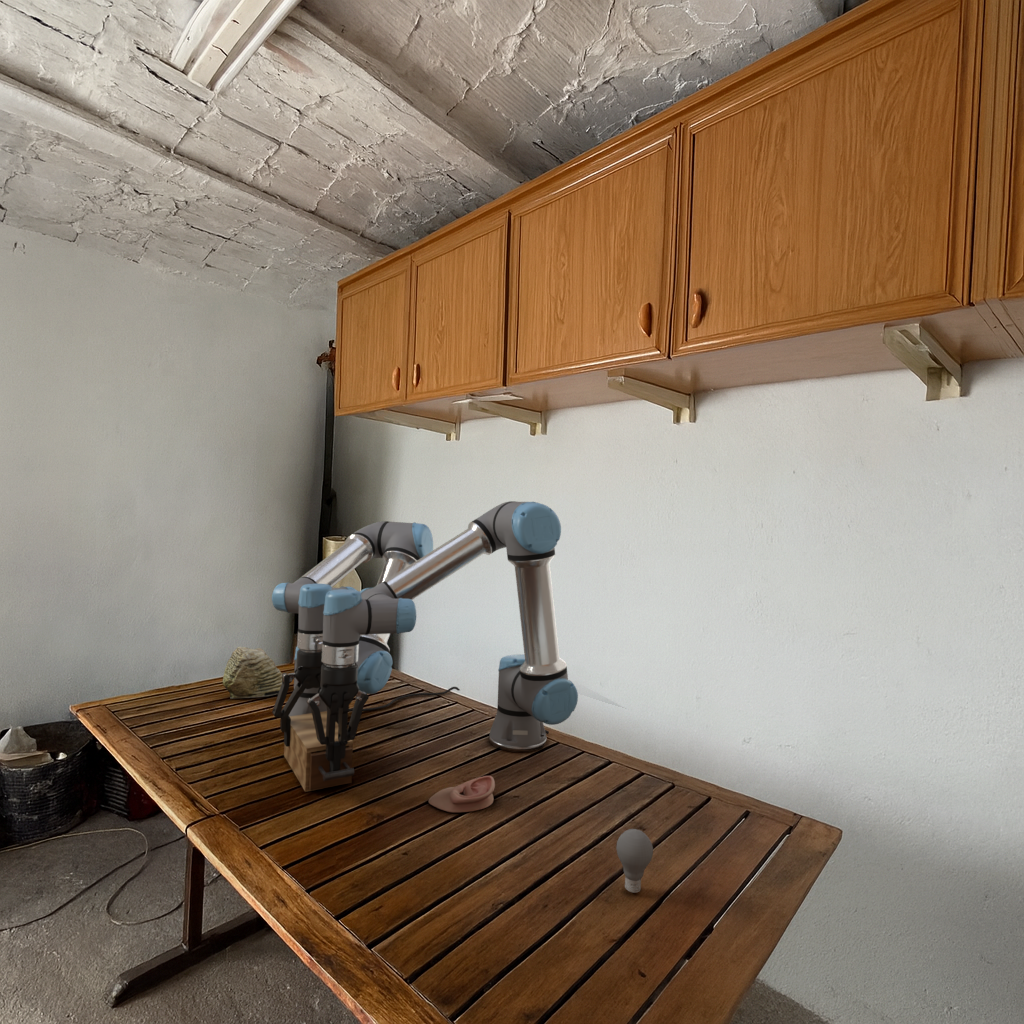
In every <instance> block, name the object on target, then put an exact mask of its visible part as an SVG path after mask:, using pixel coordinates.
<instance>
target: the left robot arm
mask: <svg viewBox="0 0 1024 1024" xmlns="http://www.w3.org/2000/svg"><path fill="white" fill-rule="evenodd" d="M433 550H434V539H433V534H432V531H431V529H430V527H429V526H428V525H427V524H425V523H418V522H415V521H414V522H401V521H389V520H388V521H387V520H382V521H377V522H372V523H370V524H368V525H365V526H363V527H362V528H359V529H358V530H356V531H354V532H353V533H351V534H350V535H348V536H347V538H346V539H345V541H344V544H342V545H341V546H340V547H339V548H337V549H336V550H335V551H333V552H332V553H331V554H330V555H328V556H326V557H325V558H324V559H323V560H321V561H320V562H319V563H318V564H316V565H315V566H313V567H312V568H311V569H309V570H308V571H307V572H306V573H304V574H303V575H301V577H299V578H298V579H297V580H295V581H294V582H289V581H288V582H280V583H278V584H277V585H276V586H275V587H274V589H273V591H272V595H271V603H272V606H273V607H274V609H275V610H277V611H280V612H284V613H288V614H298V628H297V645H296V647H295V652H294V653H295V654H294V658H293V660H294V672H290V673H287V672H282V685H281V688H280V691H279V693H278V694H277V697H276V700H275V702H274V705H273V708H272V715H273V716H274V717H275V718H280V719H279V721H280V723H279V729H280V731H281V732H282V733H283V745H284V744H285V745H286V747H288V746H290V727H291V718H290V717H289V716H296V715H303V714H310V713H312V711H311V708H310V706H309V705H308V703H307V702H306V700H307V699H308V698H312V697H314V696H315V695H316V694H318V689H319V687H320V683H321V666H322V665H323V664H324V663H323V662H322V661H321V660H322V644H323V618H324V614H323V611H324V605H325V596H326V594H327V593H328V592H329V591H331V590H338V589H347V590H357V589H356V588H354V587H352V586H343V585H342V586H340V587H335V586H336V585H337V584H338V583H339V582H340V581H342V580H343V579H344V578H345V577H346V576H348V575H349V574H350V573H352V571H353V570H355V569H356V568H357V567H359V566H360V565H361V564H366V563H369V562H370V561H371V560H373V559H382V560H383V563H384V565H383V568H382V570H381V572H380V575H379V578H378V580H377V583H376V585H375V586H377V585H378V584H380V583H382V582H384V581H385V580H387V579H388V578H390V577H392V576H393V575H395V574H396V573H398V572H400V571H401V570H403V569H404V568H406V567H408V566H409V565H411V564H412V563H414V562H416V561H417V560H419V559H420V558H422V557H424V556H425V555H427V554H428V553H430V552H432V551H433ZM390 636H391V634H367V635H360V637H359V651H358V661H357V662H356V664H357V665H358V675H357V685H358V687H359V690H360V691H364V692H365V693H366V694H367V695H375V694H376V693H378V692H380V691H381V690H382V689H383V688H384V687H385V686H386V684H387V683H388V681H389V679H390V677H391V675H392V670H393V667H392V666H393V664H394V663H393V657H392V655H391V654H390V651H391V648H390V647H389V645H388V641H389V638H390ZM292 682H293V691H292V692H291V694H290V696H289V698H288V699H287V701H286V702H285V700H286V697H287V695H288V692H289V689H290V684H291V683H292ZM453 690H457V691H458V692H459V691H461V690H460V688H459V687H457V686H451V687H449V688H448V689H446V690H445V691H440V692H418V693H417V692H416V693H411V694H410V693H409V694H405V695H401V696H398V697H395V698H393V699H392V700H391V701H390V702H388V703H386V704H384V705H380V706H375V707H366V708H363V710H362V712H369V711H370V712H371V711H376V710H377V711H378V710H380V709H382V710H383V709H385V708H388V707H389V706H391V705H392V704H394V703H395V702H397V701H399V700H403V699H406V698H412V697H417V696H441V695H445V694H447V693H449V692H451V691H453ZM318 708H319V710H320V712H325V711H327V706H326V705H325V703H324V702H323V701H322V699H320V705H319V706H318ZM352 711H353V708H349V712H352ZM336 722H337V723H339V708H337V713H336Z"/></svg>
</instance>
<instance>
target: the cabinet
mask: <svg viewBox="0 0 1024 1024" xmlns="http://www.w3.org/2000/svg"><path fill="white" fill-rule="evenodd" d="M320 714H321V719H322V723H323V728H324V733H325V737H326V722H327V711H325V712H320ZM289 717H290V718H291V727H290V746H288V747H286V745H285V744H284V743H283V757H284V758H285V760H286V762H287V764H288V765H289V767H290V769H291V771H292V772H293V774H294V775H295V777H296V779H297V780H298V782H299V784H300V785H301V787H302V789H303V791H304V792H305V793H306V792H307V793H308V792H312V791H314V790H310V789H309V778H310V754H311V752H315V751H321V750H326V745H325V744H323V745H322V744H320V742H319V741H318V739H317V735H316V730H315V725H314V721H313V716H312V713H310V714H303V715H296V716H289ZM335 741H338V723H337V722H336V723H335ZM348 747H351V748H352V749H353V747H354V740H349V741H348V744H347V745H346V748H348ZM341 785H344V784H341ZM341 785H340V786H341ZM345 785H348V783H346V784H345ZM337 786H339V785H336V786H335V787H337ZM332 787H334V786H331V787H330V788H332ZM327 788H329V787H326V788H325V789H327ZM322 789H324V788H321V789H320V790H322ZM316 790H319V789H316ZM316 790H315V791H316Z"/></svg>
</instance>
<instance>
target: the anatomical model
mask: <svg viewBox="0 0 1024 1024" xmlns="http://www.w3.org/2000/svg"><path fill="white" fill-rule="evenodd" d="M495 788H496V782H495V779H494V777H493V776H491V775H483V776H480V777H476V778H473V779H470V780H467V781H466V782H463V783H461V784H459V785H455V786H451V787H446V788H443V789H440V790H439V791H437V792H436V793H434V794H433V795H432V796H430V798H429V799H428V800H427V801H428V804H429V805H431V806H432V807H434V808H435V809H439V810H441V811H444V812H446V813H468V812H475V811H480V810H482V809H485V808H488V807H490V806H491V805H492V804H493V803H494V800H495V799H494V794H493V792H494V790H495Z"/></svg>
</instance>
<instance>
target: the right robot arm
mask: <svg viewBox="0 0 1024 1024" xmlns="http://www.w3.org/2000/svg"><path fill="white" fill-rule="evenodd" d="M560 521H561V520H560V519H559V517H558V515H557V513H556V512H555V510H554V509H552V508H551V507H550V506H548V505H546V504H543V503H540V502H536V501H514V500H513V501H511V500H509V501H506V502H502V503H500V504H498V505H496V506H494V507H493V508H491V509H489V510H488V511H486V512H484V513H483V514H481V515H479V516H478V517H477V518H475V519H474V520H472V521H470V522H469V523H468V526H467V528H466V529H465V530H463V531H462V532H461V533H459V534H457V535H455V536H454V537H453V538H451V539H449V540H448V541H446V542H445V543H442V544H441V545H439V546H438V547H436V548H435V549H433V551H432V552H430V553H428V554H427V555H425V556H424V557H422V558H420V559H419V560H417V561H416V562H414V563H412V564H411V565H409V566H408V567H406V568H404V569H403V570H401V571H400V572H398V573H396V574H395V575H393V576H392V577H390V578H388V579H387V580H385V581H384V582H382V583H380V584H378V585H377V584H376V585H377V586H376V585H375V586H373V587H366V588H363V589H361V590H358V589H356V590H347V589H338V590H331V591H329V592H328V593H327V594H326V596H325V605H324V611H323V614H324V618H323V644H322V660H321V661H322V662H323V663H324V664H323V665H322V666H321V683H320V687H319V689H318V694H316V695H315V696H314V697H312V698H308V699H307V700H306V702H307V703H308V705H309V706H310V708H311V711H312V716H313V721H314V725H315V730H316V735H317V739H318V741H319V742H320V744H322V745H323V744H325V745H326V759H327V760H328V761H330V768H329V772H333V771H338V770H340V763H341V759H342V758H344V757H345V750H346V745H347V744H348V741H349V740H352V741H354V740H355V738H356V736H357V732H358V728H359V725H360V721H361V717H362V714H363V711H362V710H363V709H364V706H365V704H366V703H367V702H368V700H369V698H370V696H369V695H370V694H366V693H365V692H364V691H360V690H359V687H358V685H357V675H358V665H357V664H356V662H357V661H358V651H359V637H360V635H367V634H390V635H391V634H397V635H400V634H404V633H410V632H412V631H413V630H414V629H415V626H416V623H417V607H416V604H415V601H414V600H415V599H417V598H418V597H419V596H421V595H422V594H424V593H425V592H427V591H428V590H430V589H432V588H433V587H435V586H436V585H438V584H439V583H441V582H442V581H444V580H445V579H447V578H448V577H450V576H452V575H454V574H455V573H456V572H458V571H460V570H461V569H462V568H464V567H466V566H467V565H469V564H470V563H472V562H473V561H475V560H477V559H479V558H480V557H481V556H483V555H487V556H490V555H492V554H493V553H495V552H496V551H498V550H501V549H504V548H506V556H507V561H508V562H509V563H510V564H511V565H513V566H514V572H515V581H516V591H517V601H518V610H519V619H520V627H521V637H522V646H523V654H510V655H504V656H502V657H501V658H500V659H499V665H498V683H497V709H496V713H495V717H494V719H493V722H492V724H491V728H490V729H489V735H488V741H489V743H490V744H491V745H492V746H493V747H494V748H496V749H499V750H502V751H506V752H513V753H529V752H535V751H539V750H541V749H543V748H544V747H546V745H547V735H549V734H550V731H549V730H547V729H545V725H549V726H553V725H554V726H555V725H559V724H561V723H564V722H565V721H566V720H568V719H569V718H570V717H571V715H572V713H573V712H574V711H575V709H576V708H577V704H578V700H579V693H578V689H577V686H576V685H575V683H573V681H571V680H570V679H569V676H568V675H569V674H568V666H567V662H566V661H565V660H564V659H563V658H561V657H560V647H559V639H558V629H557V620H556V610H555V601H554V591H553V590H554V589H553V580H552V573H551V570H552V569H551V562H552V560H553V559H554V558H555V557H556V548H555V547H556V546H557V545H558V542H559V541H560V538H561V536H562V525H561V522H560ZM320 699H322V701H323V702H324V703H325V705H326V706H327V722H326V737H325V733H324V728H323V723H322V719H321V714H320V710H319V708H318V706H319V705H320ZM354 699H355V701H354ZM353 701H354V704H353V707H352V709H353V711H351V714H350V717H349V712H350V711H349V709H350V704H351V703H352V702H353ZM337 708H339V723H338V741H335V723H336V713H337ZM348 720H349V721H348ZM544 724H545V725H544Z"/></svg>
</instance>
